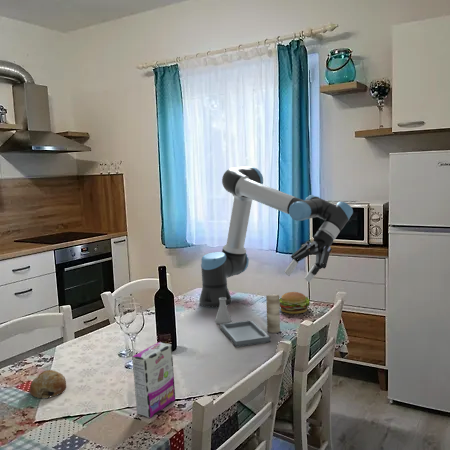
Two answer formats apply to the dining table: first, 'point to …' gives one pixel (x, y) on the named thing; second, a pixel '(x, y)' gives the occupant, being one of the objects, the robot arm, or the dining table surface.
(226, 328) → the tray
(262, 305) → the dining table surface
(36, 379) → the bread roll
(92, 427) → the dining table surface
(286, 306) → the food
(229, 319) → the flask
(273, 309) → the birch peg
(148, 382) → the candy bar box
